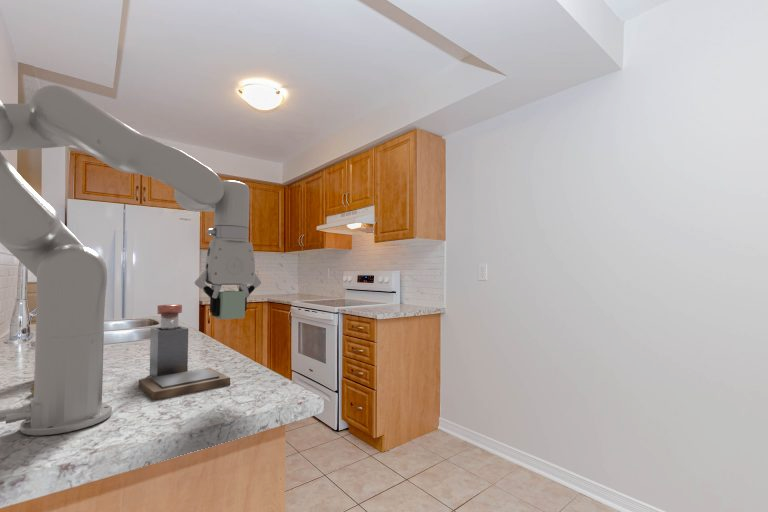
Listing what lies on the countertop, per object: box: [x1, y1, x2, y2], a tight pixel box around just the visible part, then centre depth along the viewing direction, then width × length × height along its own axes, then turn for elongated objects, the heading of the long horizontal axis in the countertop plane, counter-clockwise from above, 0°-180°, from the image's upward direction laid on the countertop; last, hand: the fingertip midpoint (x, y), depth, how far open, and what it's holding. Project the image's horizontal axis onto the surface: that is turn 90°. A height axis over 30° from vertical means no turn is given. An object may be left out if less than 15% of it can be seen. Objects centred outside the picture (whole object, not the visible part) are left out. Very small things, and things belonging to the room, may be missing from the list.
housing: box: [212, 289, 246, 320], centre depth 87 cm, size 5×6×6 cm
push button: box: [157, 303, 183, 331], centre depth 100 cm, size 6×6×9 cm
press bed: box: [138, 367, 231, 401], centre depth 90 cm, size 16×13×2 cm
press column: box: [149, 325, 189, 377], centre depth 100 cm, size 7×7×12 cm
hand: (228, 314), depth 87 cm, fingers closed on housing, 5 cm apart
